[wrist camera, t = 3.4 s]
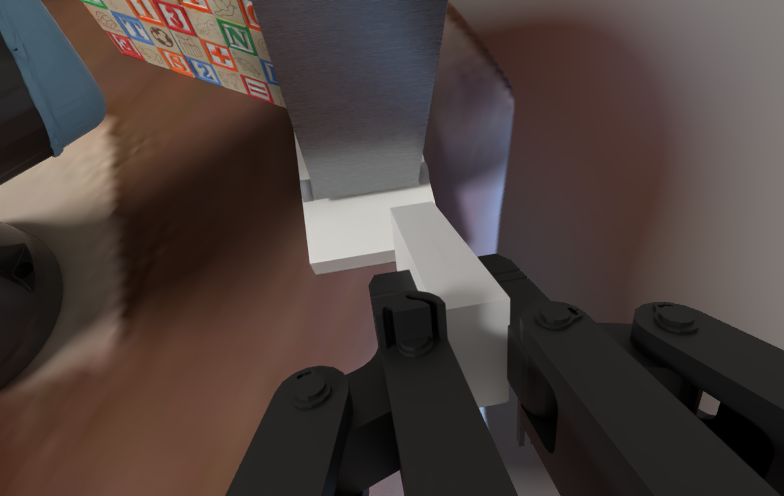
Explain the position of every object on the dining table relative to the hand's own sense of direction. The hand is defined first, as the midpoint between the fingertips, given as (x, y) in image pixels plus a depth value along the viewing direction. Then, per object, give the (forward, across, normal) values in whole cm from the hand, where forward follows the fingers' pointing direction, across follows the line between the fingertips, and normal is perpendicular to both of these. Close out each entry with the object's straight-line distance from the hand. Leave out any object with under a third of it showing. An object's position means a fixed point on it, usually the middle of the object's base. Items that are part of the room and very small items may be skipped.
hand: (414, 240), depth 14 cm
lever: (+19, 0, -3) cm, 20 cm away
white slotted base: (+24, -1, -4) cm, 24 cm away
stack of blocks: (+36, -13, +8) cm, 39 cm away
